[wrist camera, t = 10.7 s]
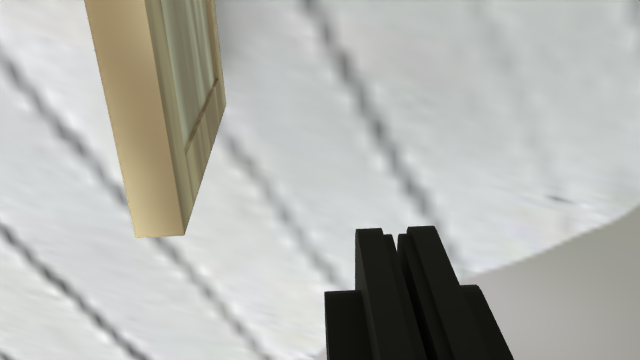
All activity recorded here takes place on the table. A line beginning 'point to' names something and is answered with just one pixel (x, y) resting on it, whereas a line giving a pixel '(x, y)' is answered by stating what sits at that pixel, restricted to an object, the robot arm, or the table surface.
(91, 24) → the picture frame
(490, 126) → the table surface
